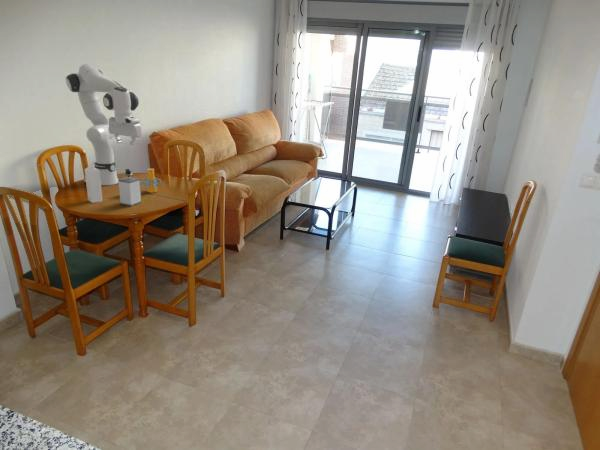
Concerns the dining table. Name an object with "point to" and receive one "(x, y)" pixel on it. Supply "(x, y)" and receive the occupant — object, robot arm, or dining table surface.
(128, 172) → the plunger
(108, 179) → the robot arm
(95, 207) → the dining table surface
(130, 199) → the white box with knob
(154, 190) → the yellow and blue toy
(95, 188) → the milk
